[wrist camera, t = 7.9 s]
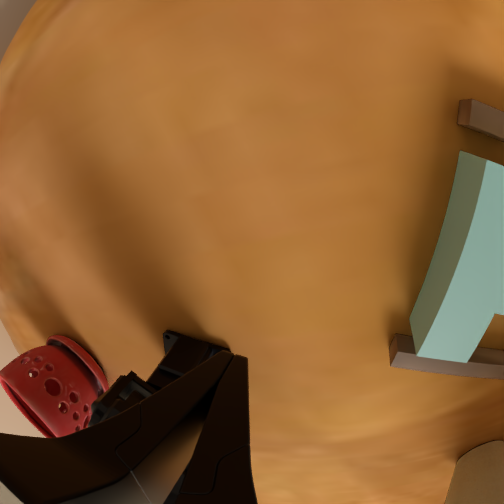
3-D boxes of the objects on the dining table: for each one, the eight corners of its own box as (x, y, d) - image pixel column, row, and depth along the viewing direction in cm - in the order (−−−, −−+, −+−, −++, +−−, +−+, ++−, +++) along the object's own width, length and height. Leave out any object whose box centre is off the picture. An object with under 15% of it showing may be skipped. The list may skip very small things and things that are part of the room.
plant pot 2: (73, 317, 32) (6, 377, 21) (133, 397, 35) (85, 462, 25) (38, 329, 37) (-13, 374, 27) (87, 394, 41) (46, 443, 30)
